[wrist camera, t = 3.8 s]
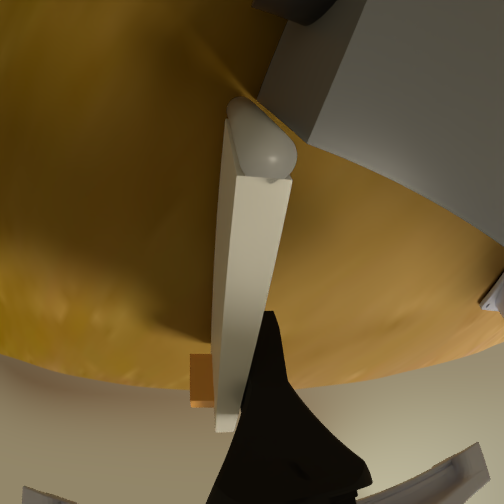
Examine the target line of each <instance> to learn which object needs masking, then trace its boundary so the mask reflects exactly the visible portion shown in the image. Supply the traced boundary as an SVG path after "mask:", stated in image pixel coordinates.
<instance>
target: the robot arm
mask: <svg viewBox="0 0 504 504" xmlns="http://www.w3.org/2000/svg"><path fill="white" fill-rule="evenodd" d="M480 308H481V309H483V310H491V311H499V312H500V314H501V315H502V317H503V318H504V273H503V274H502V276H501V277H500V278H499V280H498V281H497V282H496V284H495V285H494V286H493V288H492V289H491V290H490V292H489V293H488V294H487V295H486V297H485V298H484V299H483V300H482V302H481V303H480ZM240 408H241V416H240V420H239V423H238V426H237V429H236V431H235V434H234V437H233V440H232V442H231V445H230V448H229V450H228V453H227V455H226V458H225V461H224V463H223V465H222V467H221V470H220V472H219V475H218V476H217V479H216V481H215V483H214V485H213V488H212V490H211V492H210V495H209V497H208V499H207V502H206V504H464V503H465V502H466V501H467V500H468V499H469V498H470V497H472V496H473V495H474V494H475V493H476V492H477V491H478V490H479V489H481V488H482V487H483V486H484V485H485V484H487V483H488V482H489V481H490V476H489V473H488V469H487V466H486V463H485V460H484V457H483V454H482V451H481V448H480V445H479V442H476V443H475V444H473V445H471V446H469V447H468V448H466V449H465V450H463V451H461V452H459V453H457V454H454V455H453V456H451V457H449V458H447V459H445V460H443V461H442V462H440V463H438V464H436V465H434V466H433V467H432V468H431V469H429V470H427V471H426V472H423V473H421V474H420V475H417V476H416V477H414V478H411V479H409V480H407V481H405V482H403V483H400V484H398V485H396V486H393V487H391V488H389V489H386V490H384V491H381V492H379V493H376V494H373V495H370V496H368V497H365V498H362V499H359V500H355V497H357V496H358V494H357V490H358V489H361V488H364V487H367V486H369V485H371V484H372V478H371V474H370V472H369V470H368V467H367V465H366V463H365V461H364V460H363V459H361V458H360V457H359V456H357V455H356V454H355V453H353V452H352V451H351V450H350V449H349V448H347V447H346V446H345V445H344V444H343V443H342V442H340V440H338V439H337V438H336V437H335V436H334V435H333V434H332V433H331V432H330V431H329V430H328V429H327V428H326V427H325V426H324V425H323V424H322V423H321V422H320V421H319V420H318V419H317V418H316V416H315V415H314V414H313V413H312V412H311V411H310V410H309V408H308V407H307V406H306V405H305V404H304V402H303V401H302V400H301V399H300V397H299V396H298V395H297V393H296V392H295V390H294V389H293V388H292V386H291V385H290V383H289V382H288V379H287V373H286V367H285V360H284V354H283V347H282V341H281V335H280V329H279V326H278V322H277V319H276V317H275V314H274V312H273V311H264V313H263V317H262V322H261V326H260V330H259V334H258V338H257V342H256V346H255V351H254V355H253V359H252V363H251V367H250V371H249V375H248V379H247V383H246V387H245V390H244V394H243V398H242V402H241V406H240ZM22 504H77V503H76V502H73V501H70V500H67V499H64V498H61V497H59V496H56V495H53V494H49V493H44V492H41V491H38V490H35V489H33V488H30V487H26V486H23V494H22Z"/></svg>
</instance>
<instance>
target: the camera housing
mask: <svg viewBox="0 0 504 504" xmlns="http://www.w3.org/2000/svg"><path fill="white" fill-rule="evenodd" d="M251 7H252V8H255V9H259V10H262V11H265V12H268V13H271V14H274V15H277V16H279V17H282V18H285V19H288V22H287V24H286V27H285V29H284V31H283V34H282V36H281V39H280V41H279V43H278V46H277V48H276V51H275V53H274V56H273V58H272V61H271V63H270V66H269V68H268V71H267V73H266V76H265V79H264V81H263V84H262V86H261V89H260V92H259V94H258V97H257V101H258V102H259V103H260V104H262V105H263V106H264V107H265V108H267V109H268V110H269V111H270V112H271V113H273V114H274V115H275V116H276V117H277V118H279V119H280V120H281V121H282V122H283V123H284V124H285V125H287V126H288V127H289V128H290V129H291V130H292V131H293V132H295V133H296V134H297V135H298V136H299V137H300V138H301V139H302V140H303V141H305V142H306V143H307V144H309V145H312V146H315V147H317V148H320V149H322V150H325V151H328V152H330V153H333V154H335V155H337V156H340V157H342V158H345V159H347V160H349V161H352V162H354V163H356V164H359V165H361V166H363V167H365V168H368V169H370V170H372V171H374V172H376V173H378V174H380V175H383V176H385V177H387V178H389V179H391V180H393V181H395V182H397V183H399V184H401V185H403V186H405V187H407V188H409V189H411V190H413V191H414V192H416V193H418V194H420V195H422V196H424V197H426V198H427V199H429V200H431V201H433V202H435V203H436V204H438V205H440V206H442V207H443V208H445V209H447V210H448V211H450V212H452V213H453V214H455V215H457V216H458V217H460V218H462V219H463V220H465V221H466V222H468V223H470V224H471V225H473V226H474V227H476V228H477V229H479V230H480V231H482V232H483V233H485V234H486V235H488V236H489V237H491V238H492V239H493V240H495V241H496V242H498V243H499V244H501V245H502V246H503V247H504V0H253V3H252V6H251Z"/></svg>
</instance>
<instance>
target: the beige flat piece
mask: <svg viewBox="0 0 504 504" xmlns="http://www.w3.org/2000/svg"><path fill="white" fill-rule="evenodd" d="M226 111H227V116H228V119H225V128H224V138H223V149H222V159H221V171H220V183H219V196H218V209H217V223H216V239H215V256H214V275H213V297H212V325H211V354H190V402H191V407H214V419H215V432H234V428H235V425H236V421H237V417H238V414H239V409H240V406H241V402H242V398H243V394H244V390H245V387H246V383H247V379H248V375H249V371H250V367H251V363H252V359H253V355H254V351H255V346H256V342H257V338H258V334H259V330H260V326H261V322H262V317H263V313H264V309H265V305H266V300H267V296H268V292H269V287H270V283H271V279H272V274H273V270H274V265H275V261H276V256H277V252H278V247H279V243H280V238H281V233H282V229H283V224H284V219H285V215H286V210H287V205H288V200H289V196H290V191H291V186H292V181H293V180H292V178H291V177H290V175H289V174H290V173H291V172H292V170H293V169H294V167H295V164H296V161H297V151H296V147H295V145H294V143H293V141H292V140H291V139H290V138H289V137H288V136H287V135H286V134H285V133H284V132H283V131H282V130H281V129H280V128H279V127H278V126H277V125H276V124H275V123H274V122H273V121H272V120H271V119H270V118H269V117H268V116H267V115H266V114H265V113H264V112H263V111H262V110H261V109H260V108H259V107H258V106H256V105H255V104H254V103H253V102H252V101H251V100H250V99H248V98H246V97H241V96H240V97H236V98H233V99H232V100H231V101H230V102H229V103H228V105H227V110H226Z"/></svg>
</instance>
